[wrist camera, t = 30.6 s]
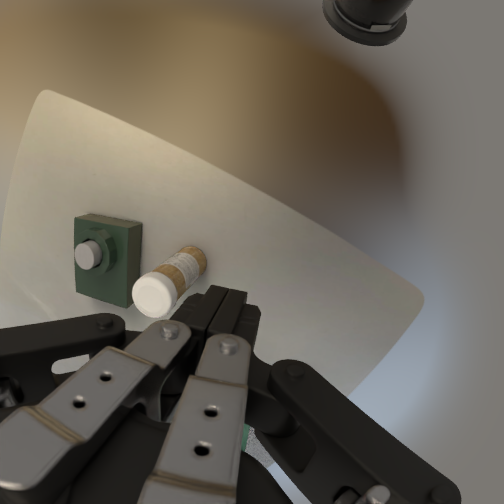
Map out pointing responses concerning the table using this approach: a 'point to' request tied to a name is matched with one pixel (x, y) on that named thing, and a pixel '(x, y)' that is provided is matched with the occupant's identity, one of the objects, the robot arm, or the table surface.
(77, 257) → the grey short cylinder
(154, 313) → the sprinkles bottle
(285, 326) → the table surface
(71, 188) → the table surface
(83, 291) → the push button box
